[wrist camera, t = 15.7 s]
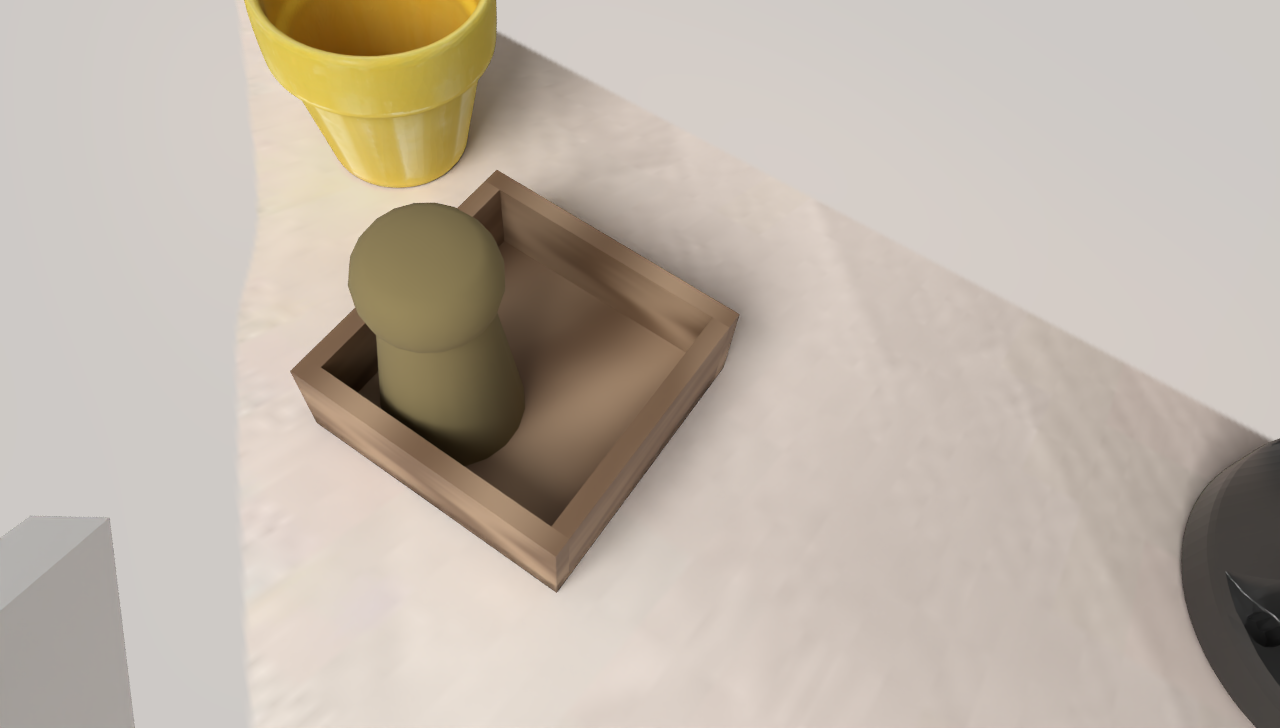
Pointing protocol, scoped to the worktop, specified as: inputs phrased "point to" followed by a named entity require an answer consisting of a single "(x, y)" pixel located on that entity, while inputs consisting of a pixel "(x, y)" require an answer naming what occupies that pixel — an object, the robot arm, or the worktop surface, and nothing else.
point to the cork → (439, 328)
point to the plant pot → (382, 77)
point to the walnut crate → (545, 384)
